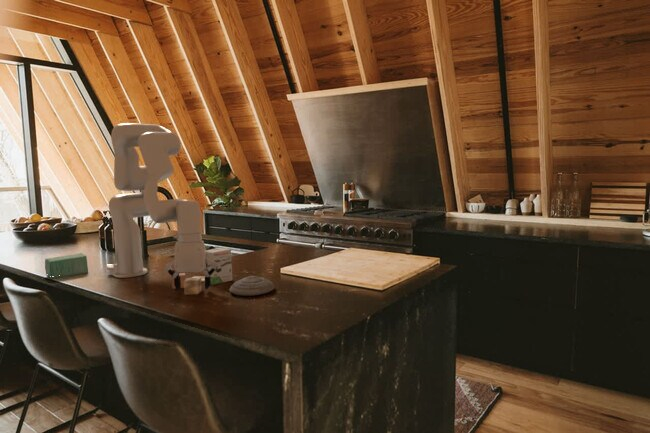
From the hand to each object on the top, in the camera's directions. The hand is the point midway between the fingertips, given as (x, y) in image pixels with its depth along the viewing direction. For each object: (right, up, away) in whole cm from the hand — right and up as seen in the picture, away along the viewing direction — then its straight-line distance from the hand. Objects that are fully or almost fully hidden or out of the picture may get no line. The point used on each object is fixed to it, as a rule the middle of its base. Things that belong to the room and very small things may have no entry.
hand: (192, 288), depth 157 cm
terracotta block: (-7, -1, +8) cm, 11 cm away
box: (-58, +1, +29) cm, 65 cm away
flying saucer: (+20, -1, -1) cm, 20 cm away
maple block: (0, -1, 0) cm, 1 cm away
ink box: (+6, 0, +13) cm, 14 cm away
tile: (-2, +1, +16) cm, 16 cm away
